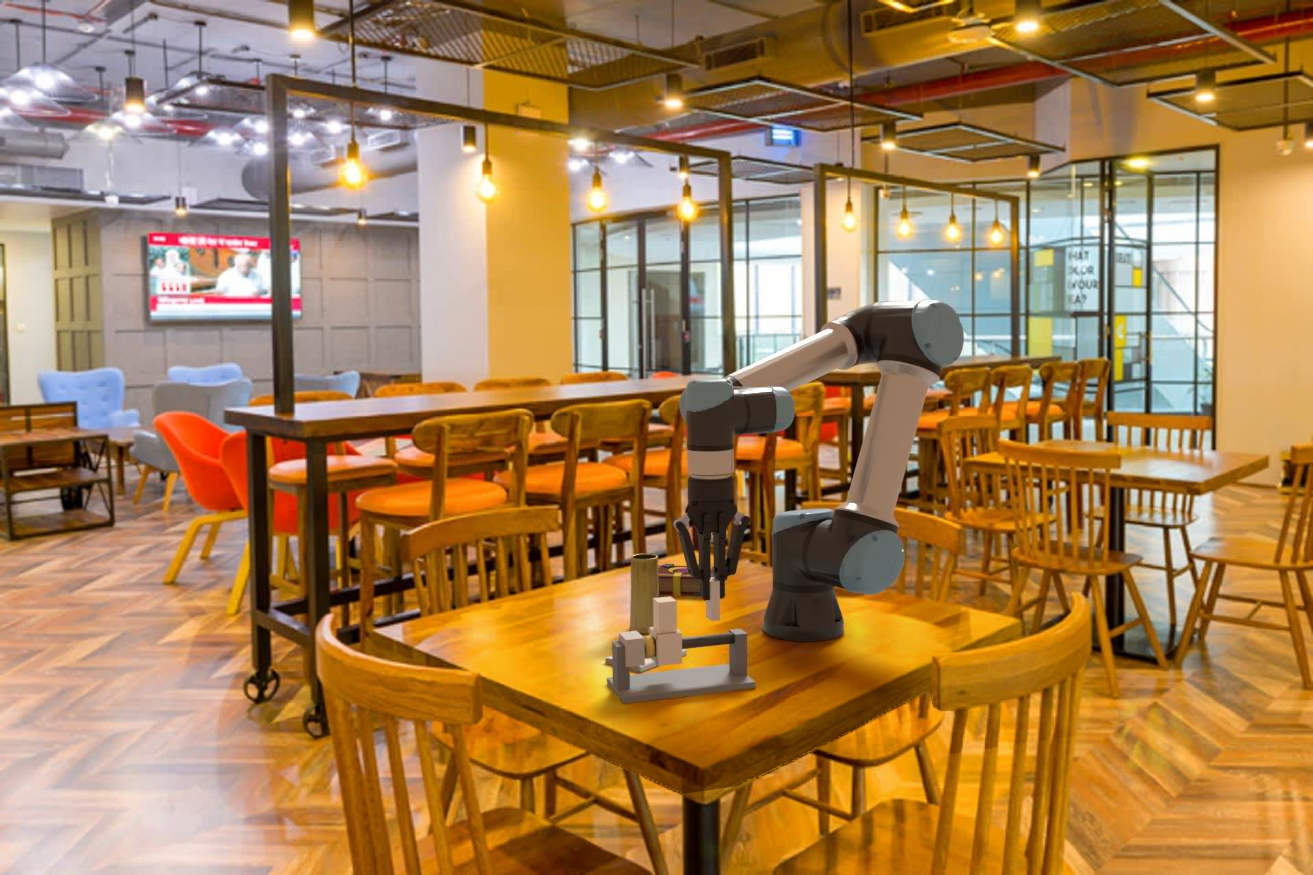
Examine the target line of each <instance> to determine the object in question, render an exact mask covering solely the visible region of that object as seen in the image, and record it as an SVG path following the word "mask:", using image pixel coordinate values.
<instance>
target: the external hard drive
mask: <svg viewBox="0 0 1313 875" xmlns="http://www.w3.org/2000/svg"><path fill="white" fill-rule="evenodd" d="M686 655H687V649H682V657H684V656H686ZM604 663H605V664H607V665H610V666H612V655H611V656H607V657H605V659H604ZM655 667H659V666H658V665H657V664H656V663H655V662H654V661H653V660H652V659H651V658H649V659H645V665H643V666H634V667H630V671H634V672H638V673H642V672H645V671H649V670H651V669H653V668H655Z"/></svg>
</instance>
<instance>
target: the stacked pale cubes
mask: <svg viewBox="0 0 1313 875" xmlns="http://www.w3.org/2000/svg"><path fill="white" fill-rule="evenodd" d="M677 601H678V600H677V599H675V598H673V597H672V596H663V597H662V596H661V597H660V596H659V598H653V626H654V627H649V633H648V636H649V635H651V636H652V638H653V641H656V652H655V654H654V657H653V658H651V659H652V660H653V661H654V662H655V663H656V664H657V665H658V666H657V667H662V666H670V665H679V664H682V663H683V656H682V638H683V632H682V631H680V630H679V629H678V615H677V614H678V602H677Z"/></svg>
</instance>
